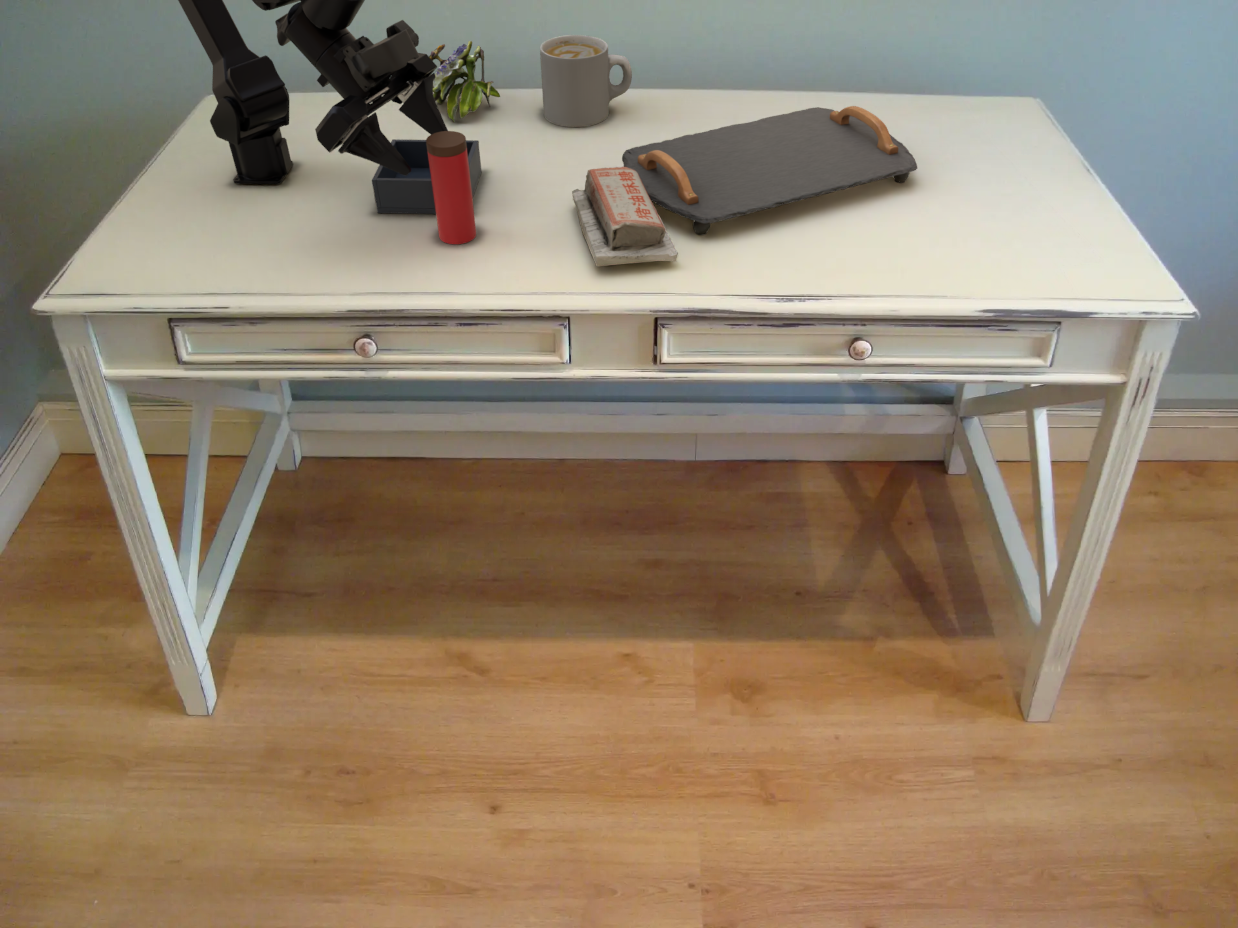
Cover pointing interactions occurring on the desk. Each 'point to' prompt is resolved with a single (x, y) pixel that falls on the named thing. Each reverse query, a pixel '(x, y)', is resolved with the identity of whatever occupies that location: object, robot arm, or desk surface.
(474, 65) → the passion flower
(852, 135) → the serving tray
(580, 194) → the packaged product
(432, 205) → the desk bin
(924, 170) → the desk surface
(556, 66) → the coffee mug
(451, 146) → the candy tube
